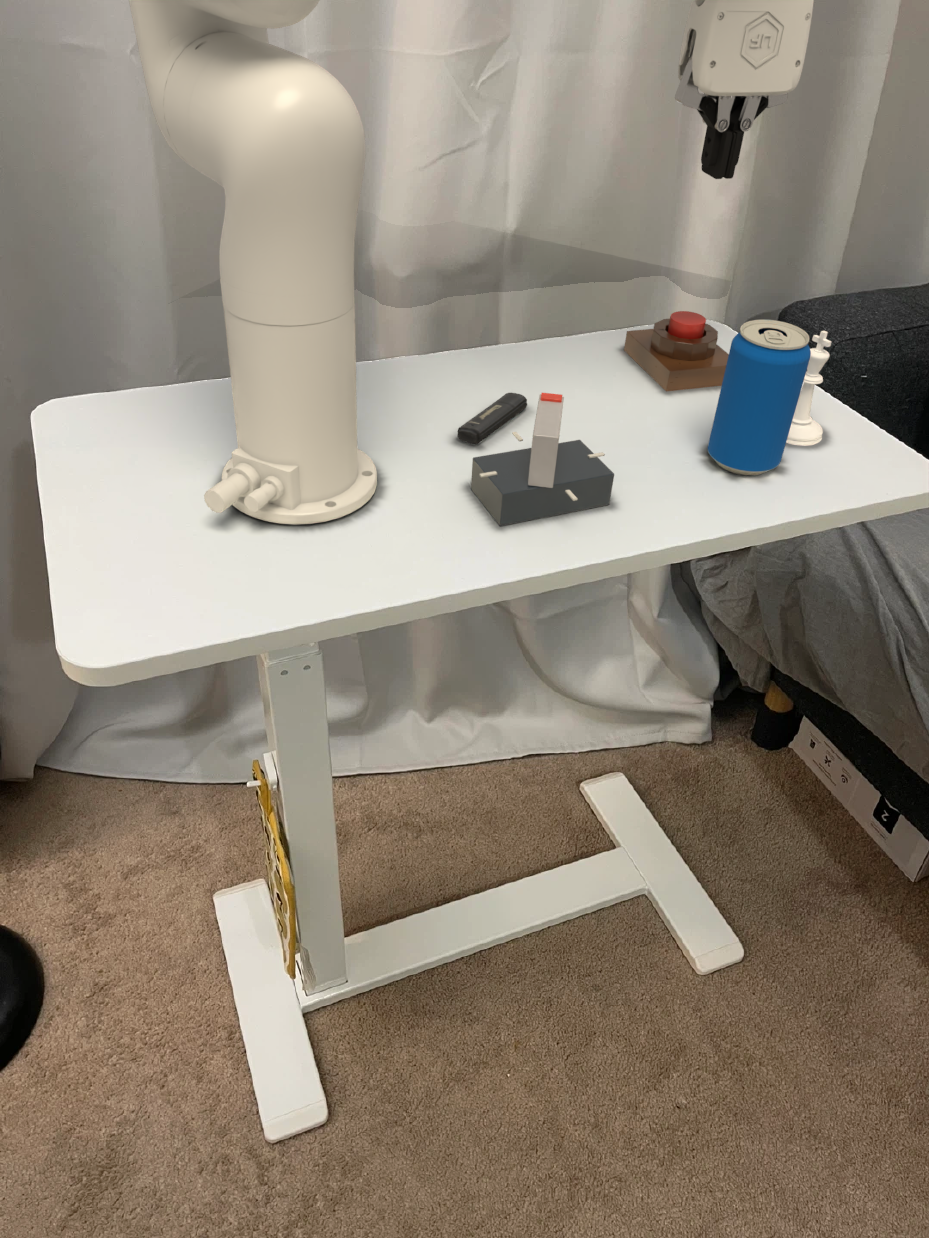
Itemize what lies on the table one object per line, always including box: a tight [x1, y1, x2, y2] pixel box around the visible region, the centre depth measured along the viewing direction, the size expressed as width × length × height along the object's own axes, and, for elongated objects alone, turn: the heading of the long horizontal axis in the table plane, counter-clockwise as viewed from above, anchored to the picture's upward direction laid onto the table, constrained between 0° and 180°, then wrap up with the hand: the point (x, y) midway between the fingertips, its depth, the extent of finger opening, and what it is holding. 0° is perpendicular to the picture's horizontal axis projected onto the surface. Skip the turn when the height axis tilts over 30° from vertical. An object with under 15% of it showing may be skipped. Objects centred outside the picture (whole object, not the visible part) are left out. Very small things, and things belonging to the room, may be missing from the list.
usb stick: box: [456, 392, 528, 445], centre depth 92 cm, size 10×3×2 cm, turn 148°
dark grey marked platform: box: [470, 431, 615, 527], centre depth 82 cm, size 11×11×3 cm
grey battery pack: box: [528, 392, 565, 488], centre depth 80 cm, size 7×2×5 cm, turn 172°
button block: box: [623, 318, 729, 393], centre depth 103 cm, size 10×8×4 cm
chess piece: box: [786, 330, 833, 447], centre depth 91 cm, size 5×5×10 cm
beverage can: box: [707, 319, 811, 476], centre depth 86 cm, size 6×6×12 cm
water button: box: [668, 310, 707, 339], centre depth 102 cm, size 4×4×2 cm
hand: (716, 174), depth 93 cm, fingers closed
